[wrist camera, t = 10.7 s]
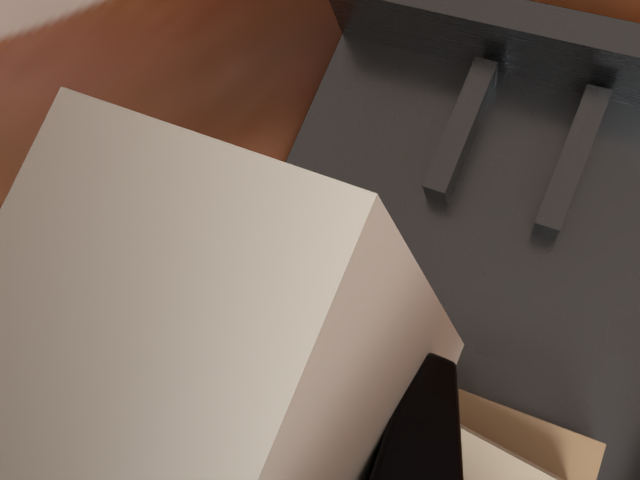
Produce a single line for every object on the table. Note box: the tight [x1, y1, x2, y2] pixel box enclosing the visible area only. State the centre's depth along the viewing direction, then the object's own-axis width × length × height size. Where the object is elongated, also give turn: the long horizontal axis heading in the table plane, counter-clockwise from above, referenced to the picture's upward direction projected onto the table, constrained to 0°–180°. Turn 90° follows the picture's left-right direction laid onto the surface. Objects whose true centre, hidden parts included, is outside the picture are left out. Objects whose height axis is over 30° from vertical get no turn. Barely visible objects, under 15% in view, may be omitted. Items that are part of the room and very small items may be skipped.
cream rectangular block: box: [0, 87, 464, 480], centre depth 9 cm, size 4×2×12 cm, turn 156°
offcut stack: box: [458, 389, 606, 480], centre depth 18 cm, size 7×11×4 cm, turn 66°
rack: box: [286, 0, 640, 480], centre depth 20 cm, size 20×16×4 cm
